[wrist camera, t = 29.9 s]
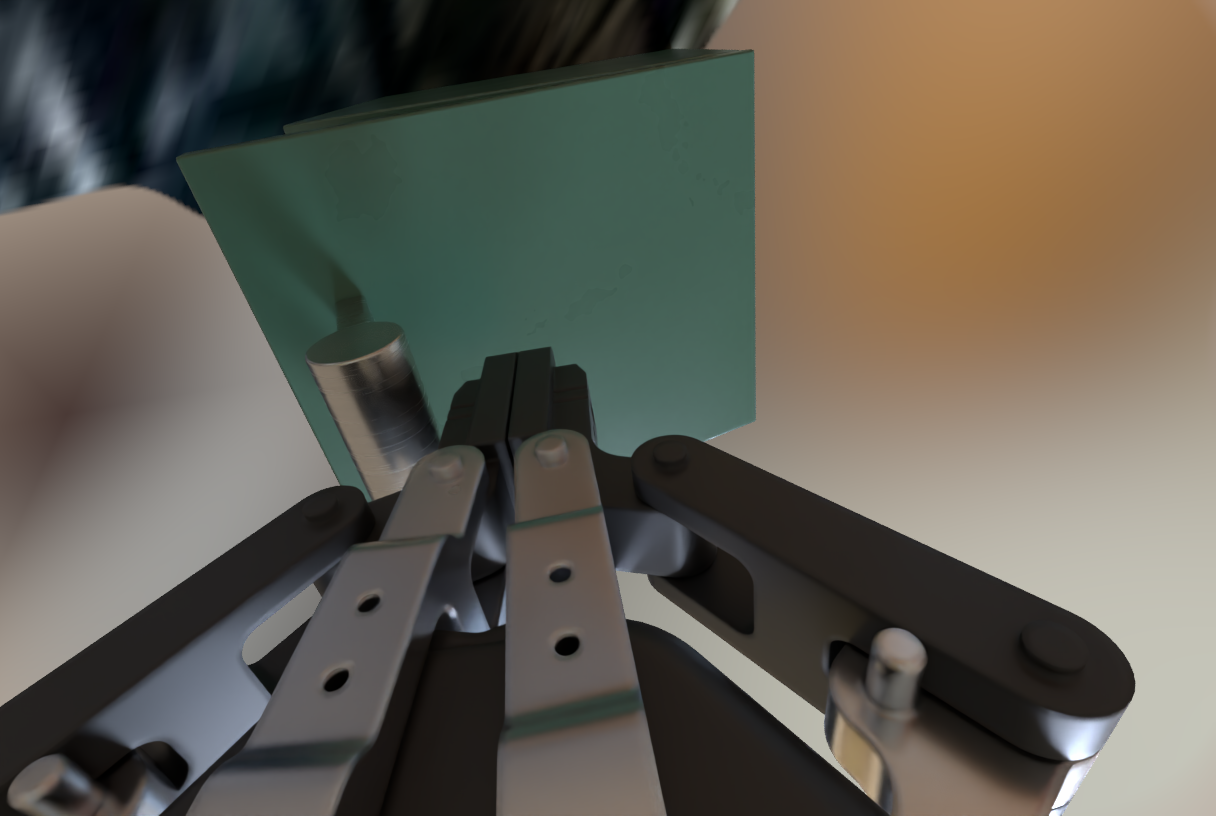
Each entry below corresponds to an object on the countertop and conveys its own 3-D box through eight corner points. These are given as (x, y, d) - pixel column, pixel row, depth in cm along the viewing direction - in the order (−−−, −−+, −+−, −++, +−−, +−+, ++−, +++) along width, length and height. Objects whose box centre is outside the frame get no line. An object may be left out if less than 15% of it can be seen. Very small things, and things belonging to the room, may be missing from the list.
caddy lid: (380, 553, 18) (399, 688, 14) (181, 153, 12) (112, 187, 8) (743, 411, 22) (840, 485, 18) (736, 50, 15) (884, 37, 11)
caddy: (458, 339, 31) (416, 461, 22) (383, 96, 25) (280, 125, 16) (691, 302, 31) (746, 410, 22) (673, 48, 25) (741, 49, 16)
